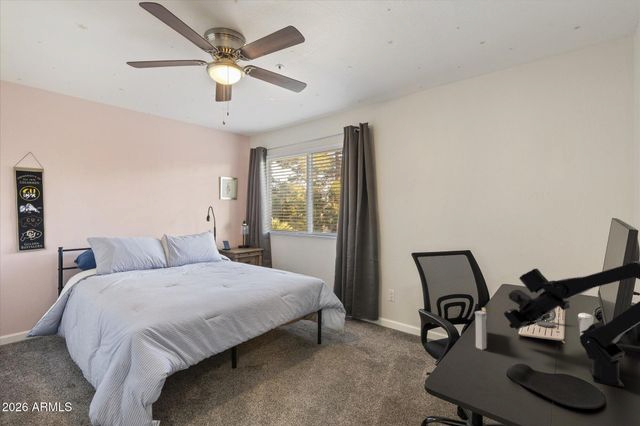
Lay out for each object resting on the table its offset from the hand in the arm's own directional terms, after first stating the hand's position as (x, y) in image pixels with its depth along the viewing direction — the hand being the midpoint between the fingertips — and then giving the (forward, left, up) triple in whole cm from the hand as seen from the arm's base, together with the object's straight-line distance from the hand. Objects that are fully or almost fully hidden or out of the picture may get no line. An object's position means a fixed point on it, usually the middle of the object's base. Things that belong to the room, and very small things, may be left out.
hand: (510, 326), depth 114 cm
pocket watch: (+30, -14, -7) cm, 34 cm away
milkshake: (+21, -26, -7) cm, 34 cm away
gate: (+1, +9, -6) cm, 11 cm away
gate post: (-8, +9, -6) cm, 14 cm away
